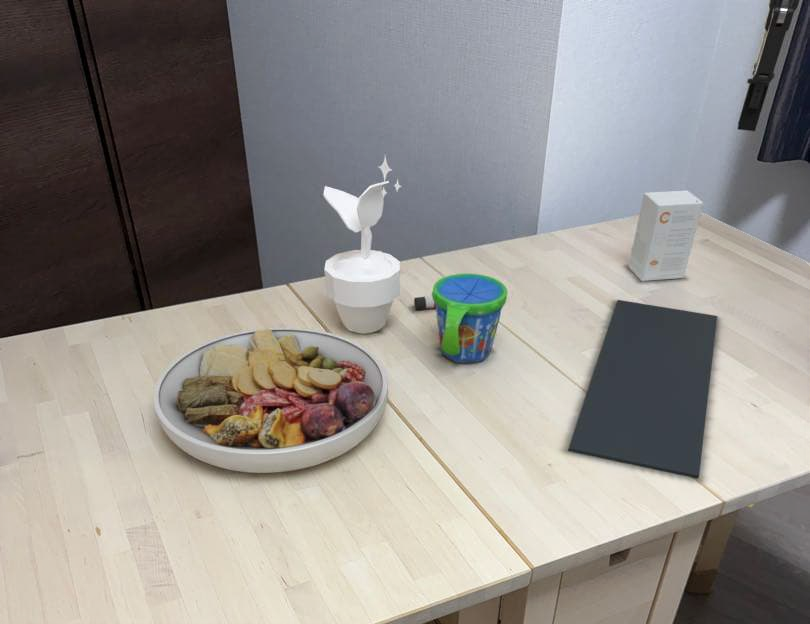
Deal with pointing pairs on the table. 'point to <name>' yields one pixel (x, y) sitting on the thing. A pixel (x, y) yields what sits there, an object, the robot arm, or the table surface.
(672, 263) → the small box
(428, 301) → the marker
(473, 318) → the snack cup
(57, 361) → the table surface
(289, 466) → the bowl
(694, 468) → the slate mat
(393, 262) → the potted plant
